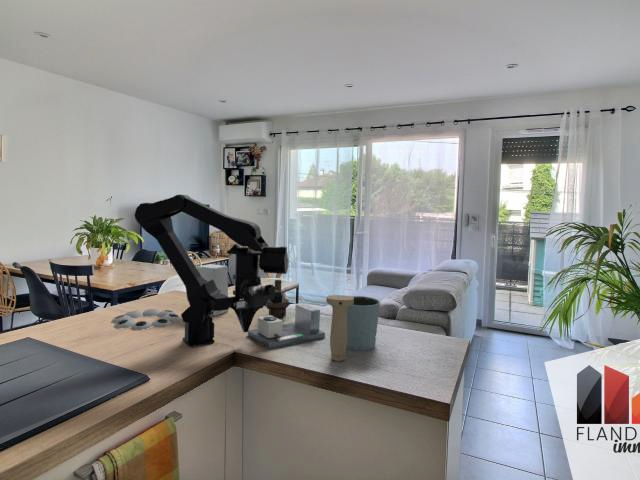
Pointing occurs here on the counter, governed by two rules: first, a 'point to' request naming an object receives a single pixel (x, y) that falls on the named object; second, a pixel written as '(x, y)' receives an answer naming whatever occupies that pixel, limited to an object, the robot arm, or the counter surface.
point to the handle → (339, 325)
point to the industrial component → (278, 304)
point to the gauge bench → (294, 329)
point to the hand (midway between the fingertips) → (245, 331)
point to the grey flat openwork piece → (127, 318)
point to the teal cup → (362, 323)
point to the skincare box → (216, 279)
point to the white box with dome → (270, 326)
